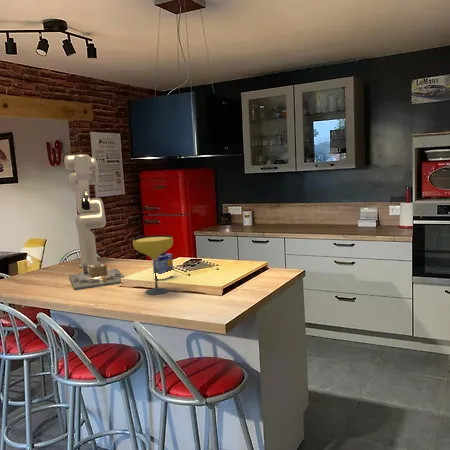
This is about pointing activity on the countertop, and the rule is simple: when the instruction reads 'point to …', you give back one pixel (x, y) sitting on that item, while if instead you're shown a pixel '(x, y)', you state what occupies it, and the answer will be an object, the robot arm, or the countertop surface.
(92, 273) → the brown rectangular block
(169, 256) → the ink cartridge box
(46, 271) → the countertop surface
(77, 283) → the sprocket base
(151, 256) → the cocktail glass
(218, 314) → the countertop surface
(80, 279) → the sprocket
